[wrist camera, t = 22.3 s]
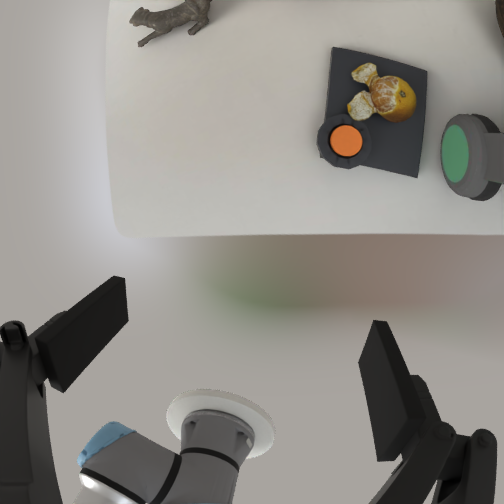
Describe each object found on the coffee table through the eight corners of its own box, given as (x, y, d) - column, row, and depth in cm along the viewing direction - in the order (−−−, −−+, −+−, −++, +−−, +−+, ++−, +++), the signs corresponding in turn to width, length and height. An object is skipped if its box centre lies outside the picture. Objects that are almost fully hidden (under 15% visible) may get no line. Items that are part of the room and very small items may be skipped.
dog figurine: (216, -2, 31) (201, -26, 24) (221, 28, 32) (206, 6, 25) (140, 22, 33) (116, 5, 26) (142, 51, 34) (116, 37, 27)
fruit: (353, 60, 30) (362, 48, 26) (412, 83, 30) (425, 74, 26) (344, 117, 31) (354, 108, 27) (406, 140, 31) (420, 134, 28)
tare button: (357, 158, 33) (360, 158, 31) (328, 153, 33) (329, 153, 32) (361, 129, 32) (364, 128, 30) (331, 123, 32) (333, 122, 31)
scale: (411, 182, 35) (421, 185, 32) (313, 162, 37) (314, 163, 34) (422, 74, 30) (432, 68, 27) (325, 50, 32) (327, 41, 28)
